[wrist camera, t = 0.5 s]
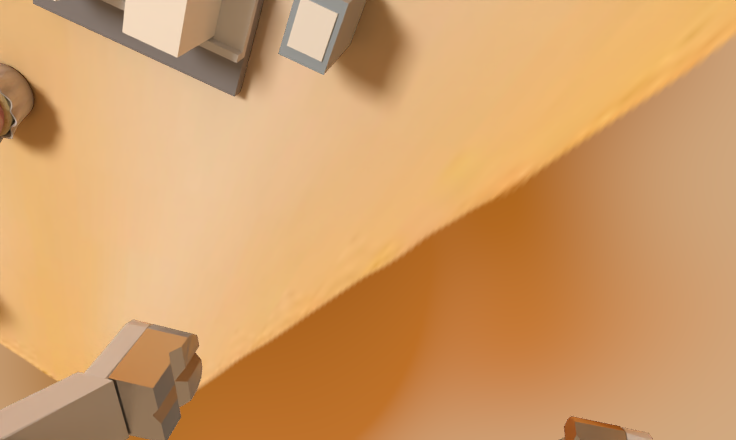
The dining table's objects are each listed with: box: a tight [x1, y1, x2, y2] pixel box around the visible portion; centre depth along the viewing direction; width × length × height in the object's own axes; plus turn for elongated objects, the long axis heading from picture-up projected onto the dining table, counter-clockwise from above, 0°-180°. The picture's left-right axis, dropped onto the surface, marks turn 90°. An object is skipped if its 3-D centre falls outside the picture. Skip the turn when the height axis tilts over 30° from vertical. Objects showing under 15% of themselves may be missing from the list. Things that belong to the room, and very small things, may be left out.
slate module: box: [279, 0, 367, 75], centre depth 46 cm, size 6×4×9 cm, turn 159°
